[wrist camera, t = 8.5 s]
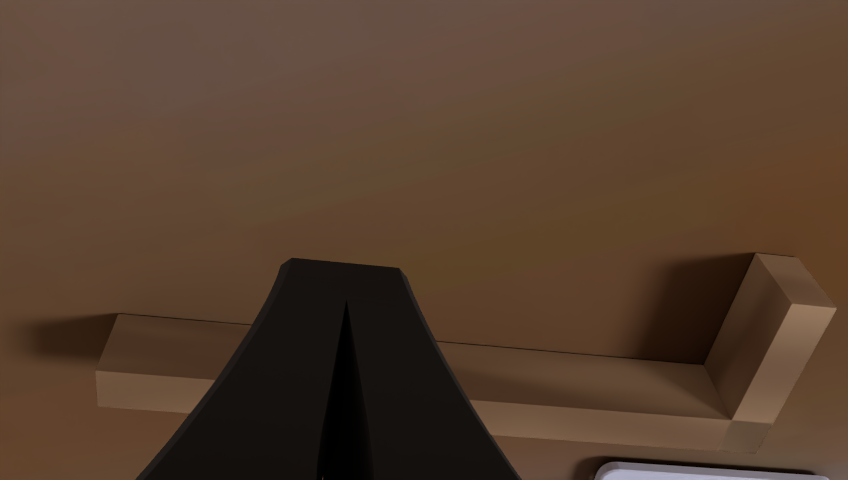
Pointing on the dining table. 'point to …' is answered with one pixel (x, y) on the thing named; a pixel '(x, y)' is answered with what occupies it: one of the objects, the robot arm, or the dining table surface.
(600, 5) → the dining table surface
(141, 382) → the tub frame
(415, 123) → the dining table surface
